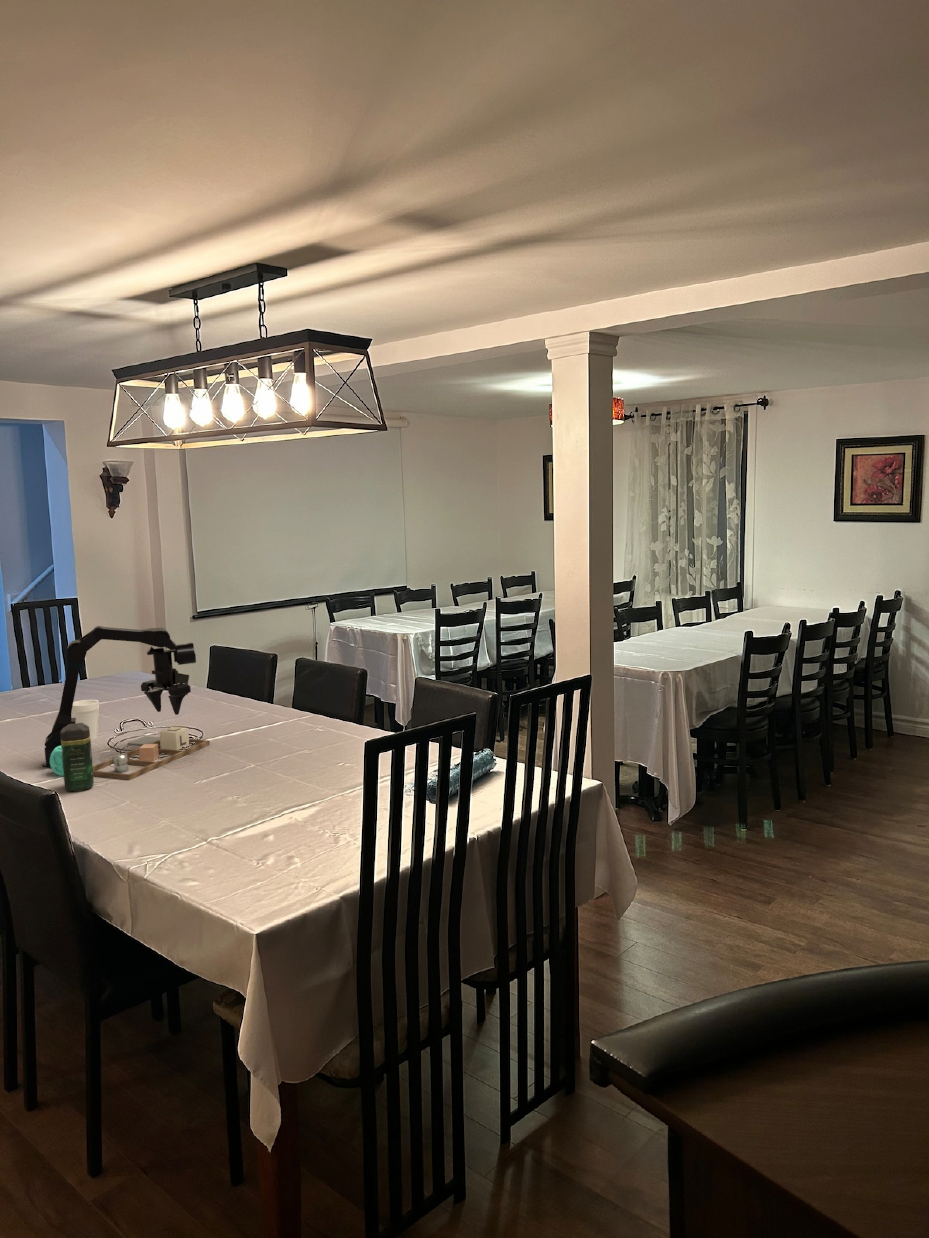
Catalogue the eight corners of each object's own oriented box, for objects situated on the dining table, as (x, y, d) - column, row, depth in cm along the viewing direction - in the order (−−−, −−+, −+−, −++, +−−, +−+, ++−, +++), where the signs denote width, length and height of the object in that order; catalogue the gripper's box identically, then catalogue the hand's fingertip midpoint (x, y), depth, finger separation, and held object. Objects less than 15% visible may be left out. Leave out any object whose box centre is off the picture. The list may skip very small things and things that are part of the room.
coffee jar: (94, 790, 259) (88, 727, 257) (64, 793, 257) (58, 730, 254) (95, 780, 268) (89, 719, 266) (66, 784, 266) (60, 722, 263)
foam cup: (77, 743, 310) (74, 707, 308) (69, 738, 317) (66, 702, 315) (105, 738, 316) (102, 702, 314) (97, 733, 323) (94, 698, 321)
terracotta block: (154, 761, 287) (153, 747, 286) (140, 761, 287) (138, 748, 286) (158, 757, 291) (157, 743, 291) (145, 757, 291) (144, 744, 291)
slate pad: (148, 746, 304) (148, 744, 304) (127, 744, 307) (127, 742, 307) (166, 739, 313) (166, 737, 312) (145, 737, 316) (145, 736, 316)
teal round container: (90, 769, 280) (88, 744, 279) (72, 776, 273) (70, 751, 271) (68, 767, 282) (66, 742, 281) (50, 775, 275) (48, 749, 274)
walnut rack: (129, 779, 268) (129, 775, 268) (82, 775, 274) (82, 770, 274) (209, 744, 304) (209, 740, 304) (166, 741, 310) (166, 736, 310)
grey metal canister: (122, 773, 275) (121, 757, 274) (111, 772, 276) (110, 756, 275) (131, 769, 278) (130, 753, 278) (120, 768, 280) (119, 752, 279)
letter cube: (177, 752, 297) (175, 732, 296) (160, 750, 299) (159, 731, 298) (189, 746, 303) (188, 727, 302) (173, 745, 305) (172, 726, 304)
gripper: (202, 664, 295) (206, 710, 297) (166, 660, 306) (170, 704, 308) (173, 670, 286) (178, 718, 288) (137, 666, 297) (142, 712, 299)
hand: (168, 713), depth 296 cm, fingers open, 9 cm apart
